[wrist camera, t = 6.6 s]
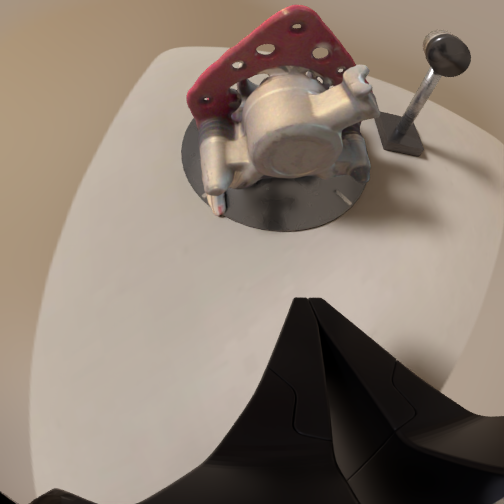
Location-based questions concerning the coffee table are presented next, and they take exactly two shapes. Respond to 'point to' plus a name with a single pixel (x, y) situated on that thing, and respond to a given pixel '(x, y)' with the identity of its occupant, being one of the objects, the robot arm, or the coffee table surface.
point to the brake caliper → (282, 109)
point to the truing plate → (276, 195)
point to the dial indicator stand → (423, 91)
